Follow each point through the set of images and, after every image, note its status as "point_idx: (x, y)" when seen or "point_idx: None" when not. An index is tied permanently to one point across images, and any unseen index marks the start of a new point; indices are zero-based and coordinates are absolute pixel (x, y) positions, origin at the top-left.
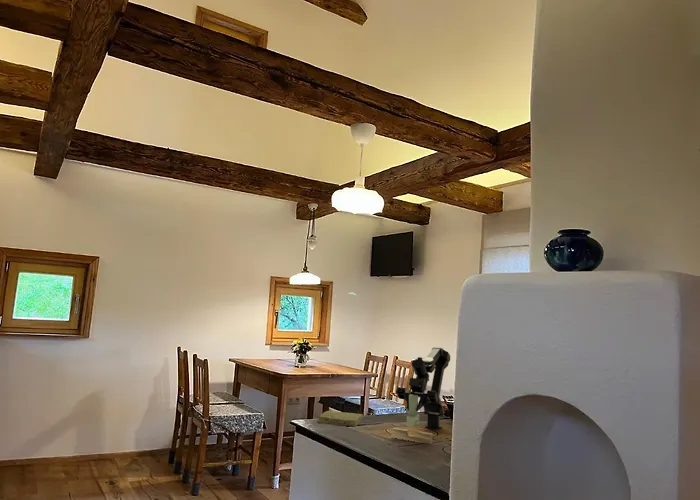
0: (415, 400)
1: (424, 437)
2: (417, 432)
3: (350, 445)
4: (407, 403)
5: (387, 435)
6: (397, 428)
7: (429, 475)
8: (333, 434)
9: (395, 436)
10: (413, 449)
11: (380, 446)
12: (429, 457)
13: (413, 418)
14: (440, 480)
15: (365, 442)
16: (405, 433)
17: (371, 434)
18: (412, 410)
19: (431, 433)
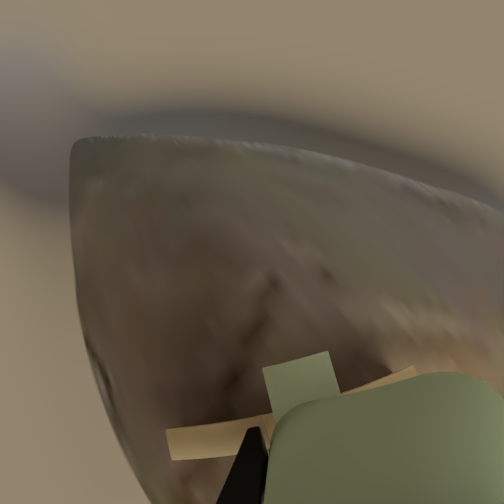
0: (280, 447)
1: (208, 424)
2: (254, 421)
3: (381, 172)
4: None
5: None
6: None
7: (94, 152)
8: (498, 228)
9: (380, 378)
10: (197, 285)
11: (320, 224)
12: (113, 243)
13: (265, 381)
14: (76, 151)
15: (392, 226)
16: None
17: (473, 335)
18: (304, 405)
19: (176, 458)
